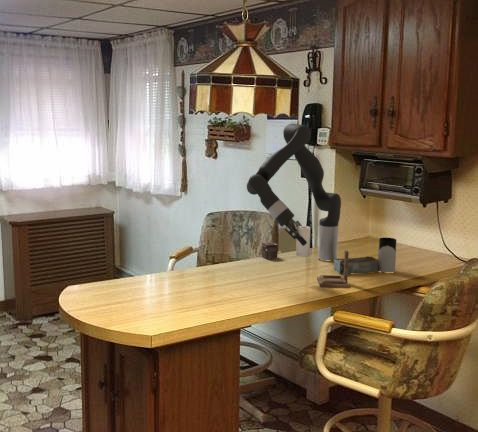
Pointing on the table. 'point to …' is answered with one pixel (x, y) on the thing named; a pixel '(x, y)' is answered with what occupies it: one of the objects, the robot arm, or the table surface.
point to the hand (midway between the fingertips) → (307, 242)
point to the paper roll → (305, 233)
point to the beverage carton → (357, 265)
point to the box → (269, 250)
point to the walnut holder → (336, 277)
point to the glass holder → (387, 255)
